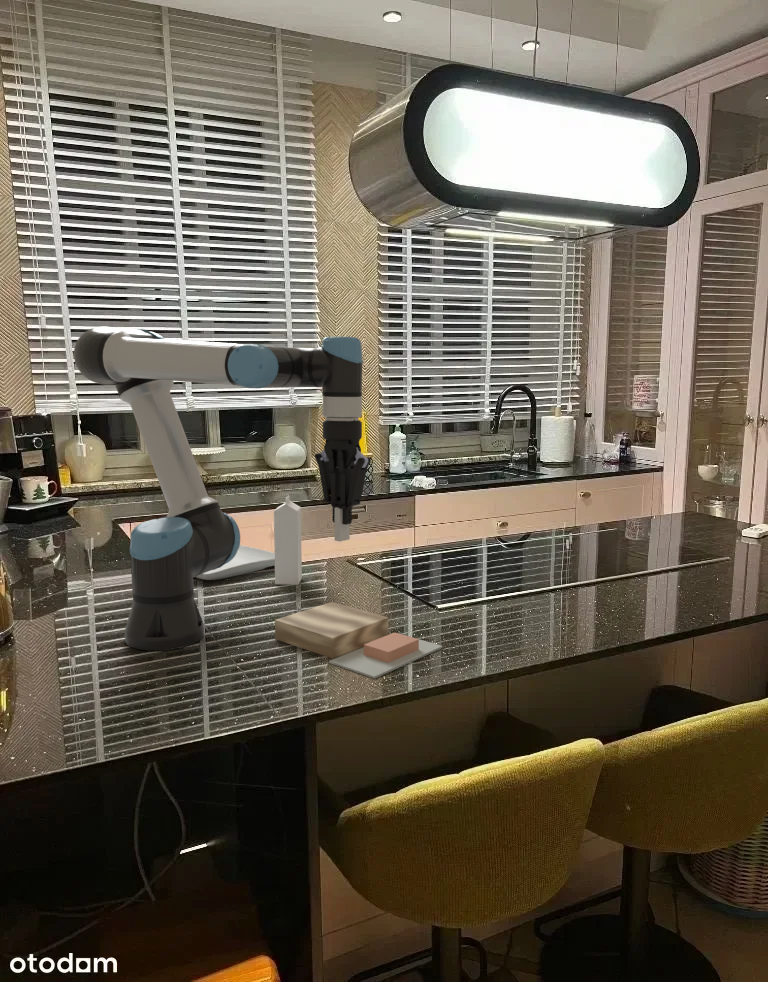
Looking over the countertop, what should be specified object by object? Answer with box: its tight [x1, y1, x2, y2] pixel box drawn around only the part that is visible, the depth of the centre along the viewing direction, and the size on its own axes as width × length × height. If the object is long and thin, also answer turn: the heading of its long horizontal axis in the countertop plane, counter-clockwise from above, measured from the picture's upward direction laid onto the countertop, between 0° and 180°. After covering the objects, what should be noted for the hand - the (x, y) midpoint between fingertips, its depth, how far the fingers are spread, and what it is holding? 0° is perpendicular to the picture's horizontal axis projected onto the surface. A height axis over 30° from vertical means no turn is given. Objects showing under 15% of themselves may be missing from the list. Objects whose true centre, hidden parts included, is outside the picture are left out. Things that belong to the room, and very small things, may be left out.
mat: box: [328, 632, 443, 680], centre depth 141 cm, size 20×11×1 cm, turn 140°
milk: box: [273, 494, 303, 586], centre depth 191 cm, size 6×6×22 cm
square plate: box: [194, 544, 275, 581], centre depth 206 cm, size 27×27×4 cm
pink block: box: [364, 632, 420, 663], centre depth 142 cm, size 9×6×2 cm, turn 140°
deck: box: [274, 601, 389, 660], centre depth 150 cm, size 16×16×4 cm
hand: (342, 539), depth 147 cm, fingers closed
